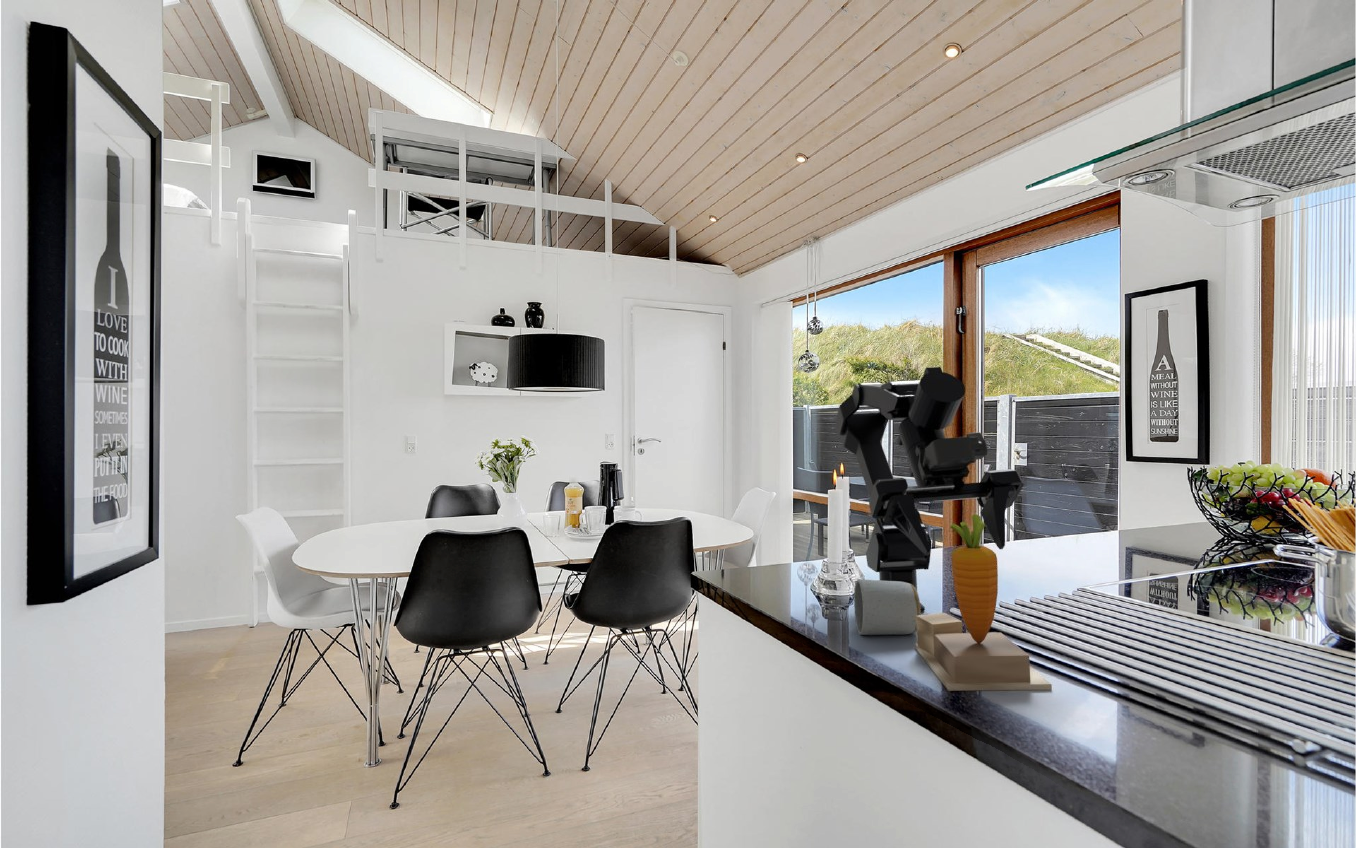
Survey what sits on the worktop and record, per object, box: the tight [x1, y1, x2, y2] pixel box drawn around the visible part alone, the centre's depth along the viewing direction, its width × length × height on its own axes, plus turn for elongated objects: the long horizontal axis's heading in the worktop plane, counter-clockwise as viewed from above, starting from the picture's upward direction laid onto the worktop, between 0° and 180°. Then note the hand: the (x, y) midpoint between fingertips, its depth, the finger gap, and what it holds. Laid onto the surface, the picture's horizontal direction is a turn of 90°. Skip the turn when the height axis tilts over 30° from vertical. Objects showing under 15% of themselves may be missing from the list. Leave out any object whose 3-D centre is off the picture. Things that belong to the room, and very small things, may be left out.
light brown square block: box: [934, 632, 1031, 683], centre depth 78 cm, size 8×8×3 cm
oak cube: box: [916, 612, 964, 656], centre depth 85 cm, size 4×4×4 cm
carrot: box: [950, 514, 999, 644], centre depth 78 cm, size 5×5×15 cm
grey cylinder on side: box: [853, 578, 922, 636], centre depth 96 cm, size 11×8×8 cm
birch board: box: [914, 643, 1053, 692], centre depth 80 cm, size 14×11×1 cm
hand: (965, 550), depth 82 cm, fingers open, 9 cm apart
